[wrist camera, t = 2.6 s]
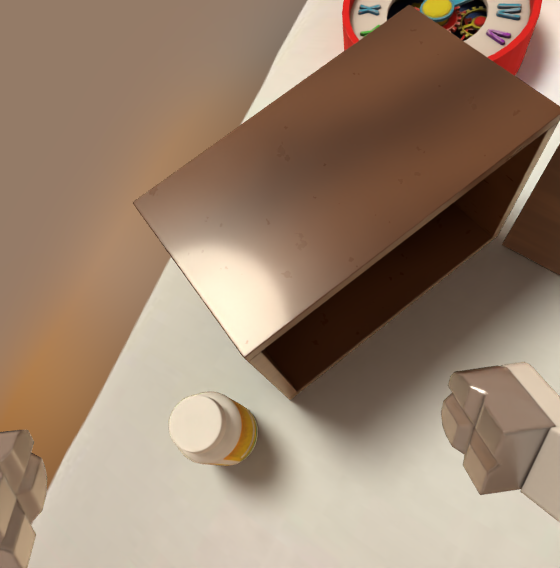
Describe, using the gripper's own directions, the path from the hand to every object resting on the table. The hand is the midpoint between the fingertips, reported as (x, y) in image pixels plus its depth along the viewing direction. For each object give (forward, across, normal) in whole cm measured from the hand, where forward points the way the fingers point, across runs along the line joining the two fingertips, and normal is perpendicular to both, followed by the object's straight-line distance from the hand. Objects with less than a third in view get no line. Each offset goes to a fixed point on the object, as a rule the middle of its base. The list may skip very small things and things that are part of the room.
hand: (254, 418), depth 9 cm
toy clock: (+51, -27, 0) cm, 57 cm away
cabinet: (+32, -13, +17) cm, 38 cm away
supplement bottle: (+22, 0, +27) cm, 35 cm away
